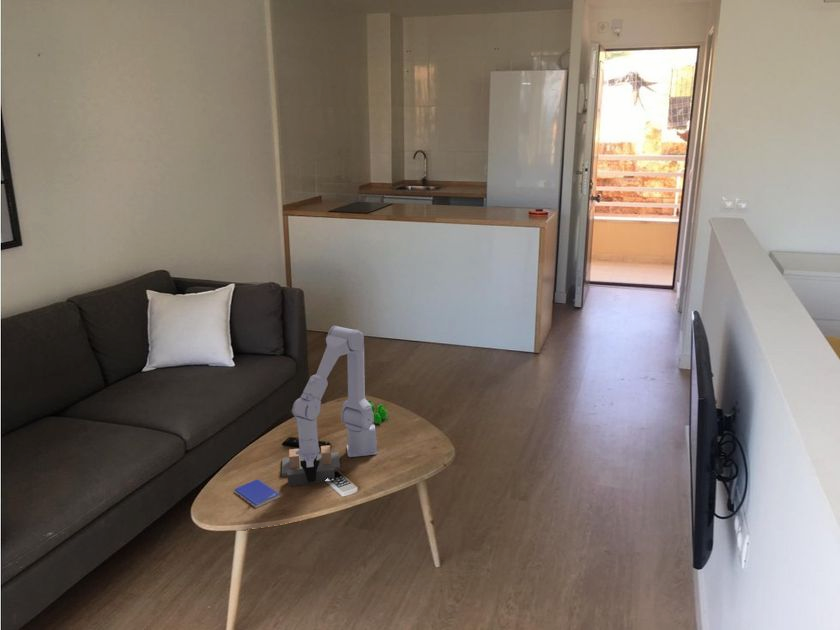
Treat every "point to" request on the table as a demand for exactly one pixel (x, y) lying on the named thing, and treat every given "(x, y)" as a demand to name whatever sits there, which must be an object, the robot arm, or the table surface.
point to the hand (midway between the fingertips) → (311, 476)
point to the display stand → (324, 457)
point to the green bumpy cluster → (379, 413)
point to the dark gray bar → (300, 477)
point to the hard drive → (257, 493)
